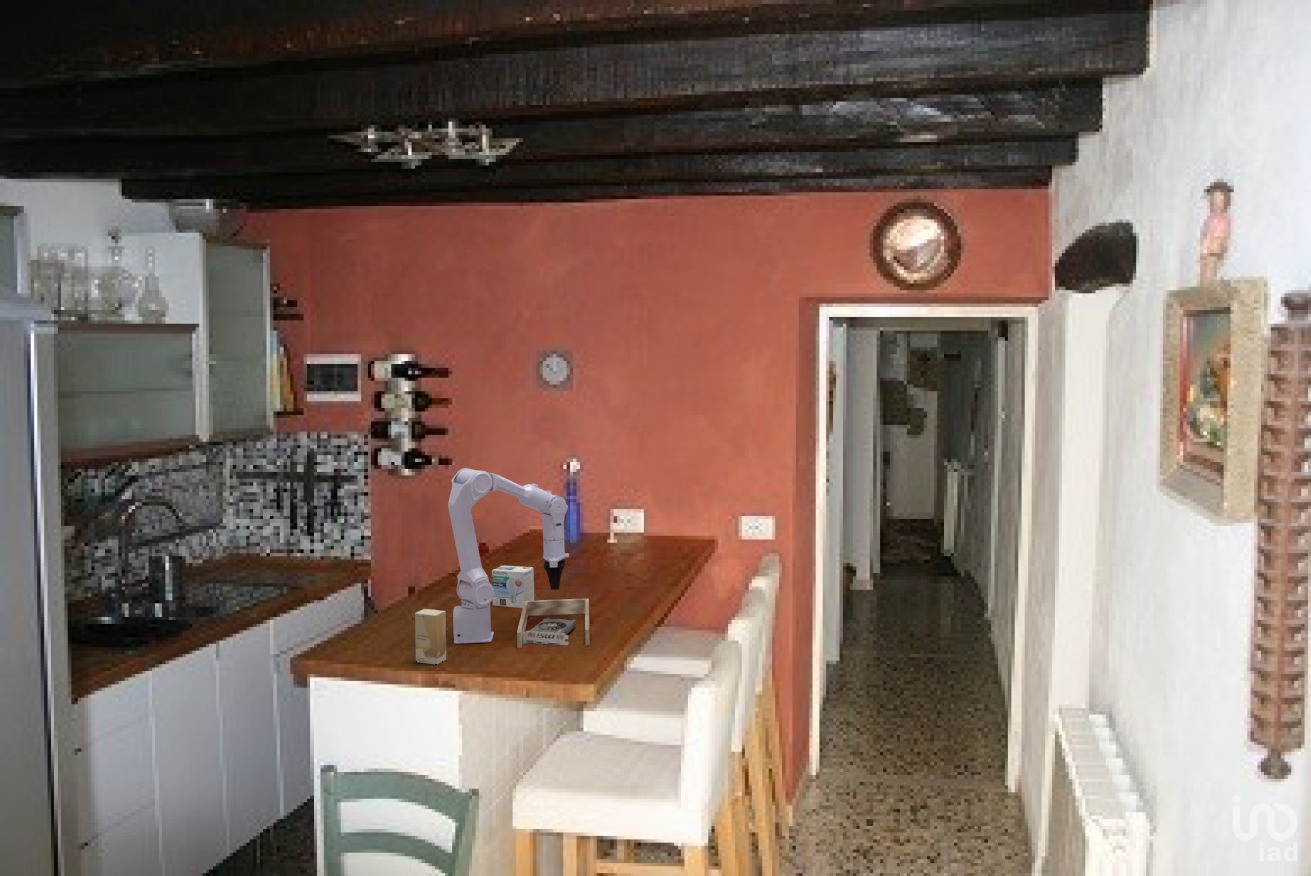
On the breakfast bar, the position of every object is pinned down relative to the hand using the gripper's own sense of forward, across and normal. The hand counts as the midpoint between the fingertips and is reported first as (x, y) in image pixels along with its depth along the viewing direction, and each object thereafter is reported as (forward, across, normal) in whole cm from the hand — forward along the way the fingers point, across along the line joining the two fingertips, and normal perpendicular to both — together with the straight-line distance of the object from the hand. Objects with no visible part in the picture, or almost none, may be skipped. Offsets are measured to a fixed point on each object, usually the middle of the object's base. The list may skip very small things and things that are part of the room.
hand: (555, 587), depth 267 cm
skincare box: (+10, -30, +29) cm, 43 cm away
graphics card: (+10, -13, 0) cm, 17 cm away
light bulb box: (+10, +20, +13) cm, 26 cm away
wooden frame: (+9, -8, 0) cm, 12 cm away
